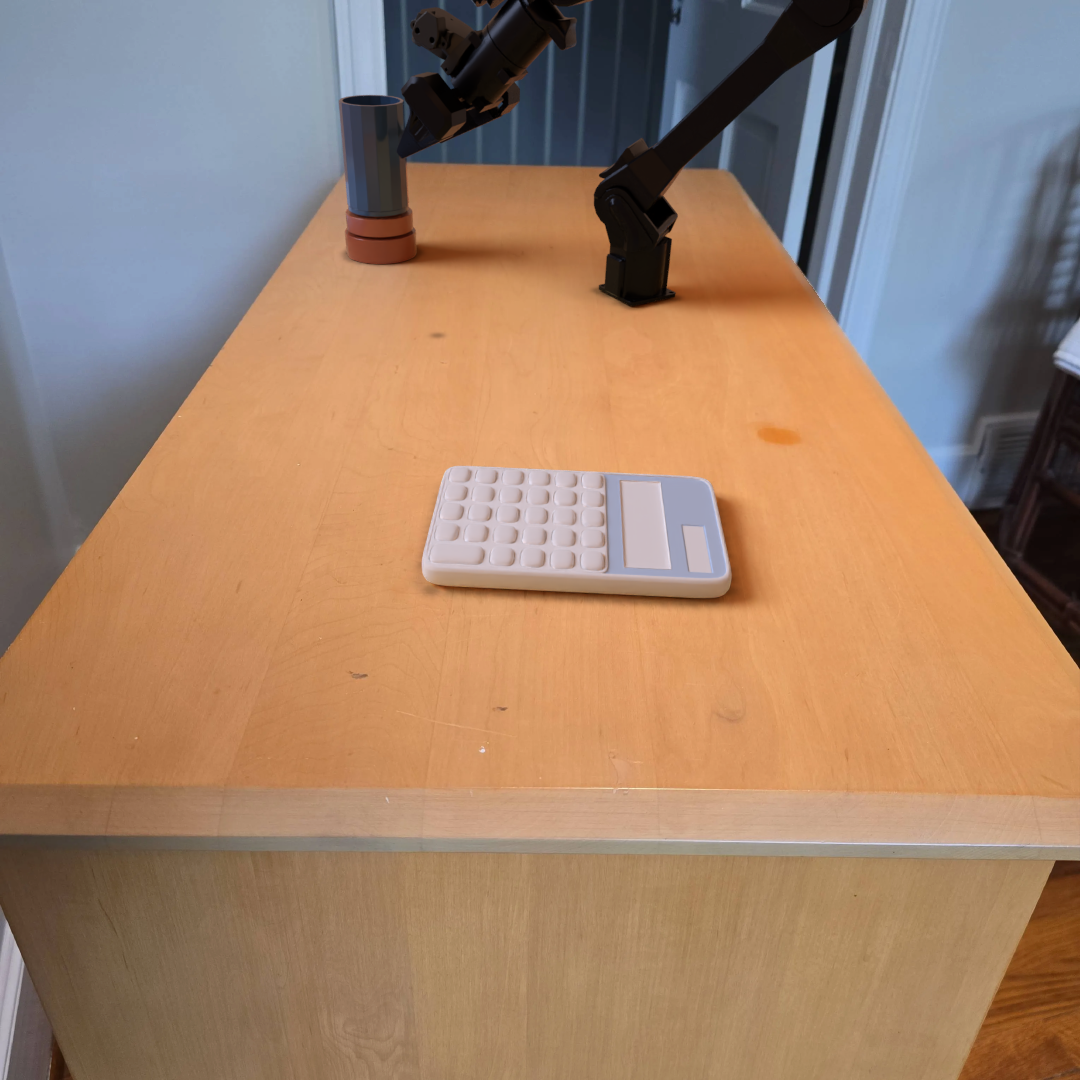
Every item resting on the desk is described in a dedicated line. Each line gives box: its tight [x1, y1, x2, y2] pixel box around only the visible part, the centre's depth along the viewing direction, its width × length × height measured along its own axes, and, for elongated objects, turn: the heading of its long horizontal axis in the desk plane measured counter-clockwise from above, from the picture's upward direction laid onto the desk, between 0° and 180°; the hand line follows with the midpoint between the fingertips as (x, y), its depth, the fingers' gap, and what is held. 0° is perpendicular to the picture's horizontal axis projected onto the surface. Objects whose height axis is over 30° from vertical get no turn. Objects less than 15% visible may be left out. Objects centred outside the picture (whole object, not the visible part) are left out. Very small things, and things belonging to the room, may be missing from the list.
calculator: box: [421, 465, 733, 599], centre depth 64 cm, size 13×20×2 cm, turn 88°
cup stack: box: [344, 207, 418, 265], centre depth 114 cm, size 9×9×5 cm
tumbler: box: [338, 94, 410, 217], centre depth 109 cm, size 7×7×12 cm
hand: (419, 147), depth 107 cm, fingers open, 9 cm apart
